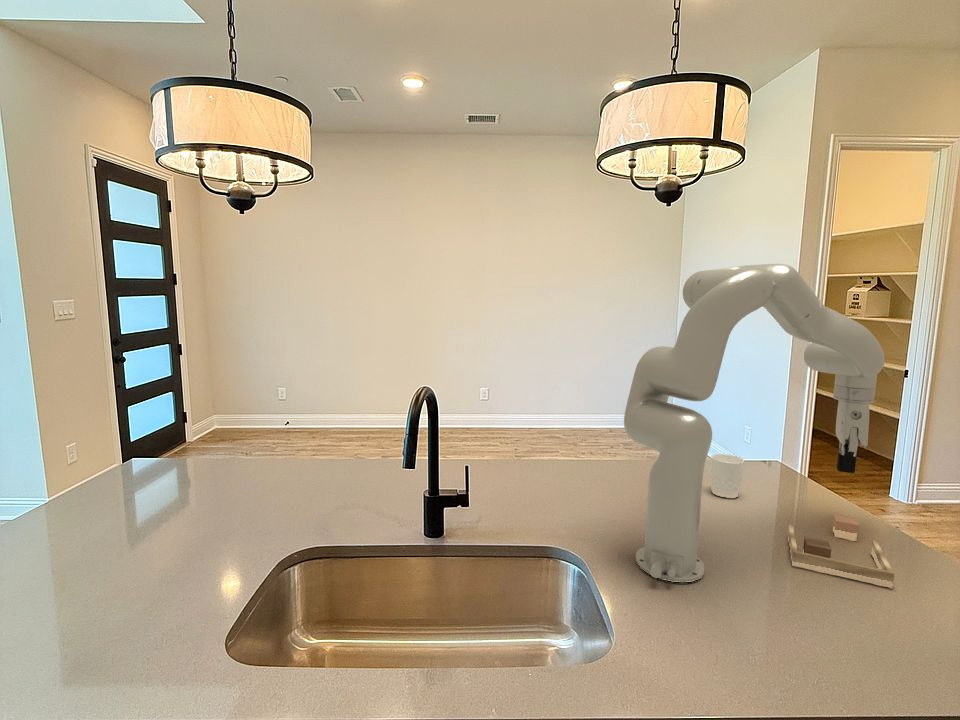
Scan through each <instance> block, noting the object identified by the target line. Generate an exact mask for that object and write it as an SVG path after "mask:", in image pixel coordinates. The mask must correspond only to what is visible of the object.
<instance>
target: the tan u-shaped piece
mask: <svg viewBox="0 0 960 720" xmlns="http://www.w3.org/2000/svg"><path fill="white" fill-rule="evenodd" d="M794 529H795V528H794V525H793V524H790V523H788V525H787V533H788V537H789V544H790V550H791V556H792V561H793V562H799V563H805V564H809V565H815V566H821V567H826V568H831V569H835V570H839V571H843V572H847V573H852V574H857V575H862V576H866V577H871V578H877V579H881V580H887V581H891V582H893V583H894V579H895V572H894V570H893V569H892V566H891V565H890V563H889V560H888V559H887V557H886V555H885V553H884V552H883V550H882V548H881V546H880V544H879V543H878V541H877V540H873V539H872V541H871V546H872V548H873V550H874V552H875V554H876V556H877V559H878V561H879V563H880V565H881V567H882V569H878V568H877V567H872V566H867V565H862V564H859V563H855V562H854V563H853V562H850V561H849V562H848V561H844V560H839V559H835V558H827V557H822V556H817V555H813V554H808V553H803V551H799V550H798V545H797V541H796V535H795V530H794Z"/></svg>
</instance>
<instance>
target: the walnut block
mask: <svg viewBox="0 0 960 720" xmlns="http://www.w3.org/2000/svg"><path fill="white" fill-rule="evenodd" d="M803 549H804V553H808V554H813V555H817V556H822V557H827V558H831V556H832V547H831V546H830V542H829V540H826V539H821V538H817V537H810V536H804V538H803V546H802V550H803ZM831 559H832V558H831Z"/></svg>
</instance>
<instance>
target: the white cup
mask: <svg viewBox="0 0 960 720" xmlns="http://www.w3.org/2000/svg"><path fill="white" fill-rule="evenodd" d="M710 457H711V458H710V486H711V489H712V490H713V491H714V492H717V493H720V494H725V495H735V494H738V493H739V494H740V490H741V486H742V480H743V473H744V465H745V460H744V459H743V458H742V457H740V456H737V455H733V454H730V453H729V454H726V453H714V454H712V455H711V456H710ZM711 489H710V490H711Z"/></svg>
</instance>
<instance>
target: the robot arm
mask: <svg viewBox="0 0 960 720" xmlns="http://www.w3.org/2000/svg"><path fill="white" fill-rule="evenodd" d="M682 299H683V301H684V302H685V304H686V306H687V307H688V308H689V310H688V311H687V313H686V314H685V316H684V318H683V320H682V322H681V325H680V328H679V331H678V334H677V339H676V341H675V344H674V346H673V347H671V346H655V347H652V348H649V349H648V350H647V351H645V353H644V354H643V355H642V356H641V357H640V359H639V361H638V362H637V364H636V366H635V369H634V373H633V376H632V377H633V378H632V381H631V386H630V389H629V394H628V397H627V402H626V406H625V411H624V416H623V425H624V426H623V427H624V430H625V432H626V434H627V436H628V438H630V439H631V440H632V441H634V442H636V443H637V444H640V445H643V446H644V447H647V448H650V449H652V450H654V451H656V452H658V453H659V455H658V457H657V459H656V460H655V462H654V463H653V464H652V466H651V469H650V471H649V474H648V483H647V486H648V487H647V488H648V489H647V499H646V501H647V502H646V503H647V504H646V515H645V518H646V519H645V532H644V533H645V535H644V546H643V547H640V548H639V549H638V550H637V551H636V553H635V563H636V562H637V563H636V565H637V564H638V565H639V566H640V567H641V568H642V569H643V570H644V571H646V572H648V573H649V574H651V577H652V578H655V579H657V578H661V579H666V580H670V581H678V582H679V581H680V582H686V581H693V580H697V579H699V578H701V577H702V576H703V575H705V571H706V569H705V564H704V562H703V561H702V560H701V559H700V558H699V557H698V556H697V554H698V545H699V544H698V543H699V530H700V519H701V507H702V506H701V504H702V493H703V492H702V491H703V490H702V489H703V481H704V480H703V478H704V472H705V465H706V461H707V457H708V453H709V451H710V448H711V445H712V440H713V429H712V426H711V424H710V422H709V421H708V419H707V418H706V417H705V416H704V415H703V414H701V412H698V411H696V410H695V409H692V408H689V407H685V406H681V405H677V404H674V403H668V400H669V397H672V398H676V399H680V400H685V401H688V402H689V401H690V402H704V401H706V400H708V399H709V398H710V397H711V396H712V395H713V392H714V390H715V387H716V386H717V382H718V379H719V374H720V371H721V366H722V364H723V363H722V362H723V360H724V355H725V350H726V347H727V344H728V341H729V338H730V335H731V333H732V331H733V330H734V328H735V326H736V325H738V323H739V322H740V321H741V320H742V319H744V318H745V317H747V316H748V315H749V314H751V313H754V312H756V311H757V310H759V309H761V308H762V307H763V308H764V309H765V310H766V311H767V312H768V313H769V314H770V315H771V317H773V319H774V320H775V321H776V322H777V323H778V325H779V326H780V327H781V328H782V329H783V330H784V331H785V332H786V333H787V334H788V335H790V336H793V337H795V338H797V339H800V340H802V341H806V342H808V343H809V344H808V345H807V346H806V348H805V350H804V353H803V360H804V363H805V364H806V366H807V367H808V368H810V369H812V370H813V371H816V372H818V373H819V372H820V373H823V374H824V373H825V374H832V375H835V378H834V386H833V397H832V399H834V400H836V401H838V403H837V411H836V419H835V420H836V421H835V436H836V438H837V440H838V442H839V449H838V450H839V451H838V453H837V461H836V462H837V463H836V469H837V471H838V472H839V473H847V474H855V472H856V464H857V451H858V446H859V443H860V445H861V446H862V447H863V448H866V447H867V446H868V443H869V442H868V441H869V426H870V404H874V403H875V397H876V396H875V395H876V387H877V378H878V374H880V372H881V371H882V369H883V368H884V365H885V360H886V359H885V352H884V349H883V347H882V345H881V344H880V342H879V341H878V339H877V338H876V337H875V335H874V334H873V333H872V332H871V331H870V330H869V328H867V327H866V326H865V325H863V324H862V323H859V322H858V321H856V320H855V319H852V318H850V317H848V316H846V315H844V314H843V313H840V312H838V311H837V310H834V309H833V308H832V309H831V308H830V307H828V306H826V305H825V304H823V302H822V301H821V299H820V298H819V297H818V296H817V295H816V293H815V292H814V291H813V290H812V288H811V287H810V285H808V283H807V282H806V280H804V278H803V276H801V274H800V273H799V272H798V271H797V269H795V268H794V267H792V266H790V265H788V264H784V263H767V264H762V263H761V264H746V265H738V266H731V267H724V268H716V269H715V268H714V269H708V270H706V269H705V270H700V271H696V272H694V273H692V274H691V275H690V276H689V277H688V278H687V279H686V281H685V282H684V285H683V287H682ZM638 565H637V566H638ZM639 566H638V567H639ZM640 567H639V568H640ZM641 568H640V569H641ZM642 569H641V570H642ZM643 570H642V571H643ZM644 571H643V572H644ZM649 574H648V575H649ZM703 577H704V576H703ZM703 577H702V578H703ZM702 578H701V579H702Z"/></svg>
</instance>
